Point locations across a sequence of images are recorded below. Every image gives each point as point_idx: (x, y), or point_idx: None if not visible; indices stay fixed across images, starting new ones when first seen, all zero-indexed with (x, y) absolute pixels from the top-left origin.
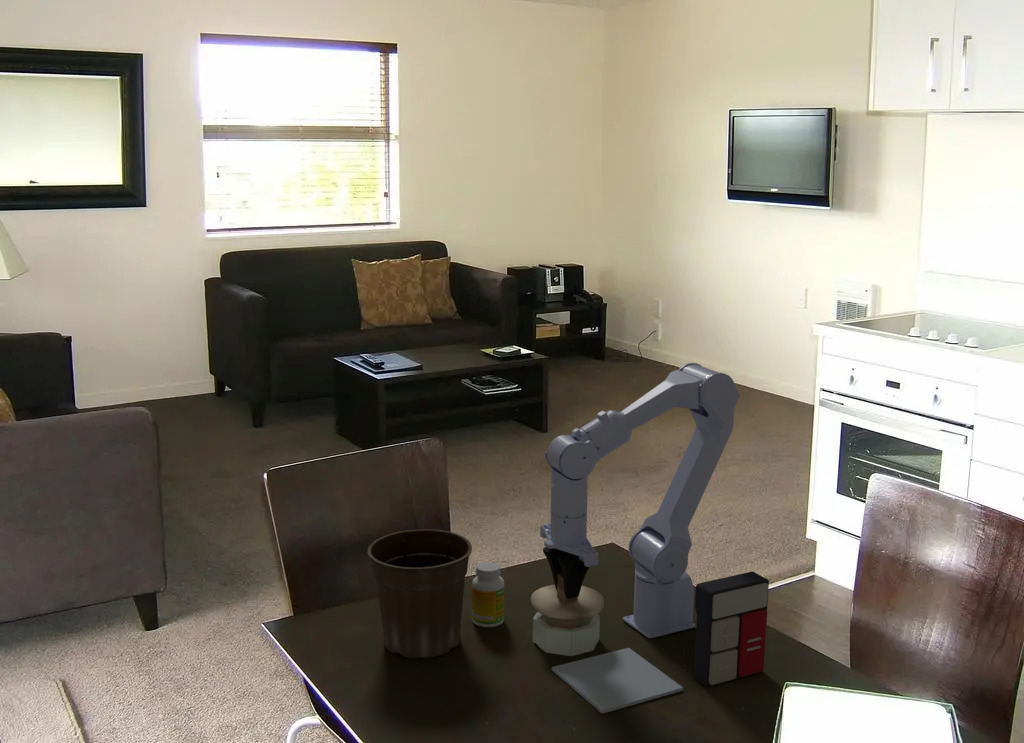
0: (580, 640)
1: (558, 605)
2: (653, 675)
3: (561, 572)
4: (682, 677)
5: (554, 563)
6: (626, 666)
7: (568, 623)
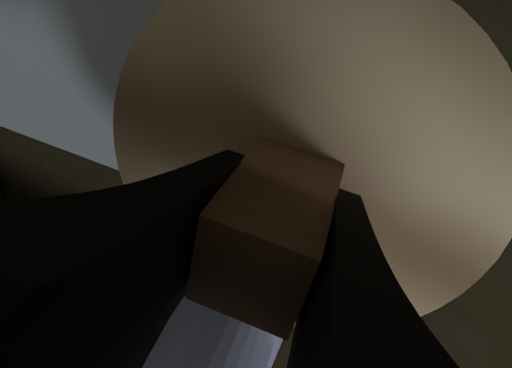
0: None
1: (258, 85)
2: (15, 105)
3: (316, 296)
4: (9, 155)
5: (321, 326)
6: (78, 94)
7: None
